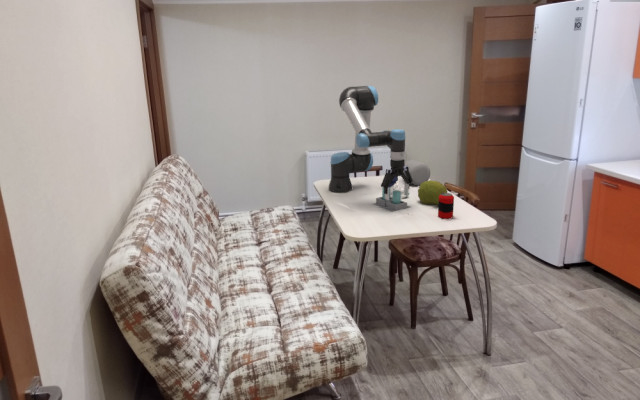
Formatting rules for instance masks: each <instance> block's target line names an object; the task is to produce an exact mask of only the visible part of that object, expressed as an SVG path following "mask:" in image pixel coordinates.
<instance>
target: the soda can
mask: <svg viewBox="0 0 640 400" xmlns="http://www.w3.org/2000/svg"><path fill="white" fill-rule="evenodd" d="M454 203H455V196H454V195H453V194H452V193H450V192H447V193H441V194H440V196H439V202H438V205H437V217H438V218H440V219H443V220H447V219H448V220H449V219H452V218H453V217H454V205H455V204H454Z"/></svg>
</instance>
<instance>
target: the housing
mask: <svg viewBox="0 0 640 400" xmlns="http://www.w3.org/2000/svg"><path fill="white" fill-rule="evenodd" d="M372 205H373V206H376V207H378V208H381V209H383V210H386V211H389V212H392V213H394V212H397V211H401V210H402V211H403V210H406V209H410V208H411V209H412V206H410V205H408V202H406V201H404V200H401V203H400V204H393V198H392V197H390V200H386V201H385V200H382V196H380V197H376V198H375V202H374V203H372Z"/></svg>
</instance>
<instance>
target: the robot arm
mask: <svg viewBox="0 0 640 400" xmlns="http://www.w3.org/2000/svg"><path fill="white" fill-rule="evenodd" d="M378 103H379V93H378V91H377V88H376V87H374V86H373V85H362V86H361V85H357V86H348V87H346V88H345V89H343V91H341V93H340V95H339V99H338V104H339V107H340V108H341V110H342V111H343V112H344V113H345V115H346V116H347V119H348V120H349V121H350V124H351V125H352V128H353V129H354V131H355V135H354V136H355V137H354V147H353V148H352V150H351V153H349V151H341V152H340V151H339V152H337V153H334V154H332V155H331V156H330V180H329V185H328V191H329V192H332V193H340V194H341V193H348V192H349V193H350V192H351V191H352V190H353V184H352V180H351V179H350V173H361V172H362V173H364V172H367V171H369V170H371V169H372V167H373V165H374V158H373V157H374V156H373V154H372V152H371V150H370V149H369V148H372V147H374V148H375V147H382V146H384V147H385V146H387V145H389V146H391V149H390V151H389V152H390V153H389V154H390V155H389V157H390V160H389V161H390V162H389V164H390V165H389V166H390V169H385V173H384V177H383V179H382V181H381V184H380V187H381V188H383V187H384V194H385V199H386V200H389V188H388V187H389V185H390V184H391V182H392V180H393V179H394V178H395V177H397V176H398V177H401V178H402V180H403V181H404V185H403V186H404V195H406V196H407V197H408V196H409V195H410V193H409V190H410V186H411V184H412V183H411V182H413V180H412V178H411V175H410V172H409V167H407V166H404V165H405V163H406V161H405V158H406V157H405V154H406V131H405V130H404V129H401V128H400V129H399V128H398V129H397V128H396V129H391V130H382V131H377V132H372V131H371V116H372V112H373V111H374V110H375V109H374V108H375V106H378ZM403 171H404V172H405V174H406V176H405V174H404V172H403ZM390 173H391V174H390Z"/></svg>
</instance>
